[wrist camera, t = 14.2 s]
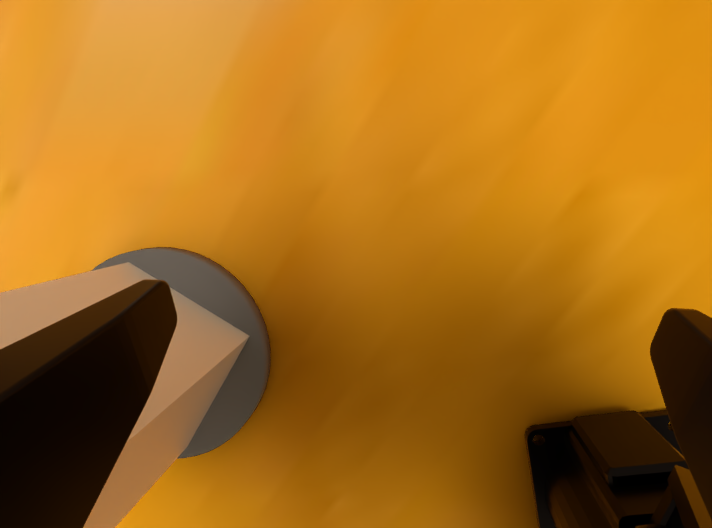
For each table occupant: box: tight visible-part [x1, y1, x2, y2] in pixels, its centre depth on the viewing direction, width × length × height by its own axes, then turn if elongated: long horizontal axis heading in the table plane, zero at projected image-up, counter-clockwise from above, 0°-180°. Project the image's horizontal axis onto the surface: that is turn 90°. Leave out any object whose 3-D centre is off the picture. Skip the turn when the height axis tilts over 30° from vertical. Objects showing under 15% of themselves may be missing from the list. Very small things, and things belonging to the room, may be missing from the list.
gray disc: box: [92, 247, 271, 458], centre depth 22 cm, size 10×10×1 cm
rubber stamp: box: [0, 262, 249, 528], centre depth 16 cm, size 6×6×13 cm
